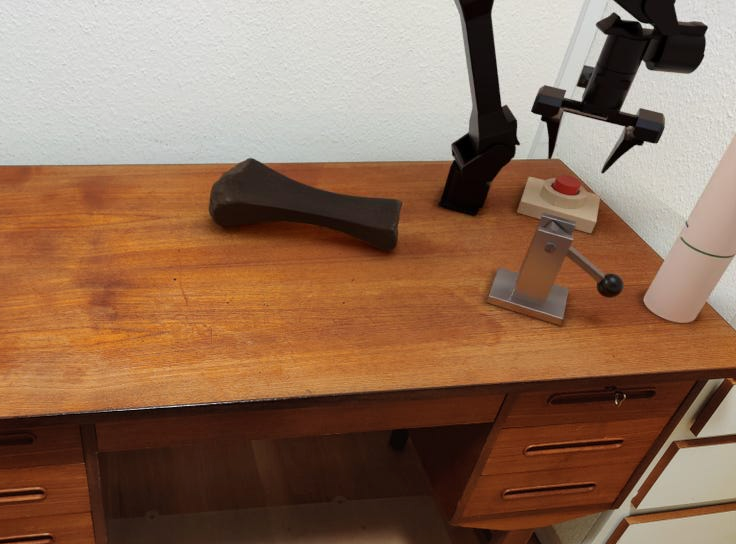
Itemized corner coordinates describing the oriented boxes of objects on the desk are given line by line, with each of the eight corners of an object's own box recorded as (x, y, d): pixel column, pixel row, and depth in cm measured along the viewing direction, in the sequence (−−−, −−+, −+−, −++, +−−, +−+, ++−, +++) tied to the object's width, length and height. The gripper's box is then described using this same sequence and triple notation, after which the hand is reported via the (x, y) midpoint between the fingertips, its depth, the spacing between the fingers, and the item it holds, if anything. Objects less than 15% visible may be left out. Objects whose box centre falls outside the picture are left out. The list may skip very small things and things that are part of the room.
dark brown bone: (203, 232, 110) (381, 281, 110) (205, 195, 100) (401, 249, 101) (221, 173, 114) (393, 220, 114) (226, 132, 104) (414, 184, 104)
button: (551, 192, 118) (554, 182, 117) (553, 182, 121) (557, 172, 120) (576, 199, 117) (580, 189, 116) (578, 188, 120) (582, 179, 119)
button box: (516, 212, 119) (524, 191, 117) (524, 187, 127) (532, 166, 124) (591, 233, 117) (601, 212, 114) (595, 206, 124) (605, 185, 121)
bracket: (565, 294, 103) (599, 222, 95) (559, 325, 97) (595, 252, 89) (495, 273, 105) (523, 201, 98) (486, 302, 100) (514, 228, 92)
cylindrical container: (693, 299, 105) (794, 136, 88) (699, 328, 100) (807, 160, 83) (641, 286, 106) (731, 123, 90) (645, 314, 101) (741, 146, 84)
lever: (610, 293, 98) (629, 279, 95) (608, 306, 95) (628, 292, 93) (536, 233, 97) (555, 217, 95) (533, 244, 95) (552, 228, 92)
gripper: (684, 65, 109) (638, 161, 119) (558, 37, 114) (524, 132, 124) (684, 89, 101) (635, 189, 111) (549, 57, 106) (514, 157, 116)
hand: (575, 165), depth 116 cm, fingers open, 8 cm apart
